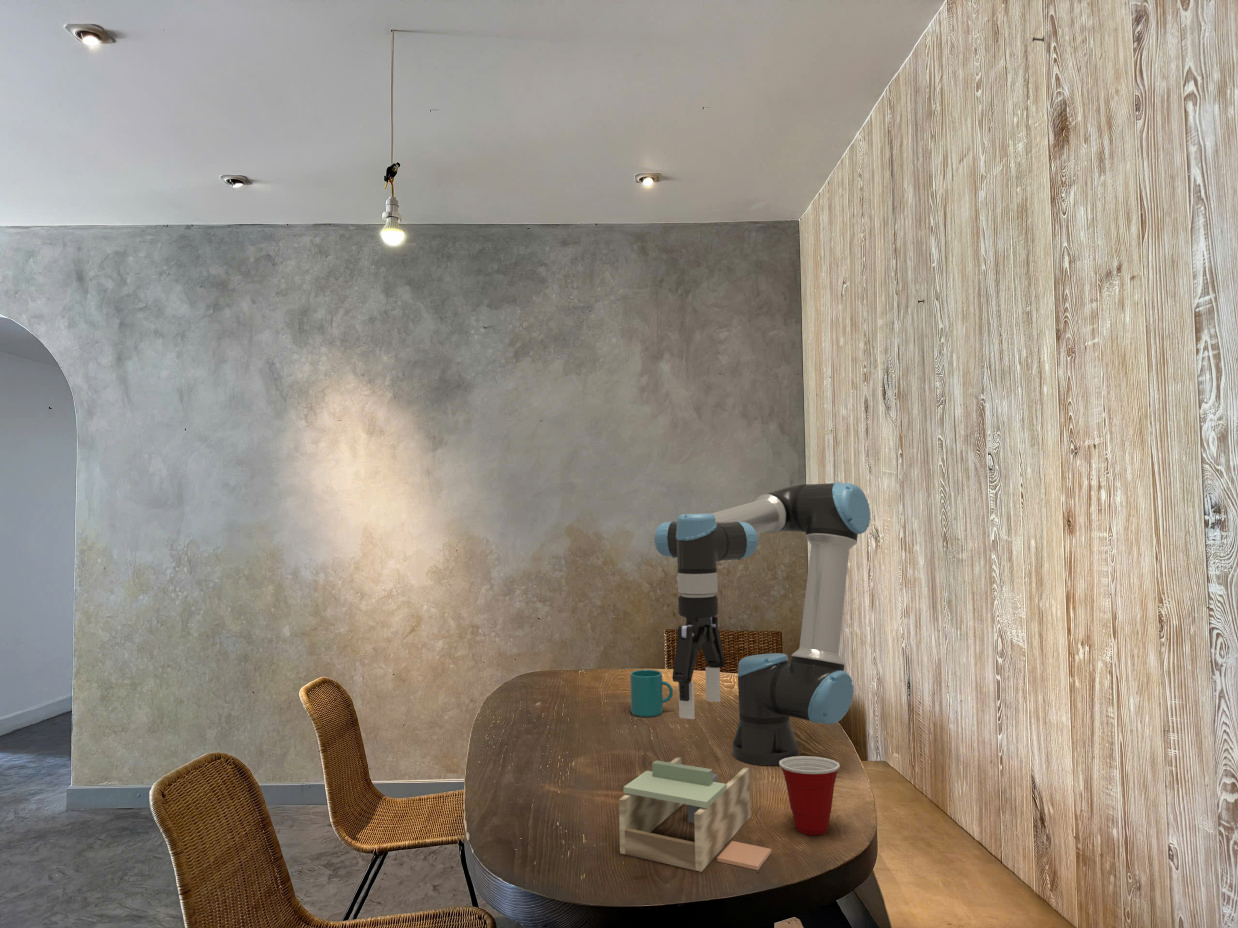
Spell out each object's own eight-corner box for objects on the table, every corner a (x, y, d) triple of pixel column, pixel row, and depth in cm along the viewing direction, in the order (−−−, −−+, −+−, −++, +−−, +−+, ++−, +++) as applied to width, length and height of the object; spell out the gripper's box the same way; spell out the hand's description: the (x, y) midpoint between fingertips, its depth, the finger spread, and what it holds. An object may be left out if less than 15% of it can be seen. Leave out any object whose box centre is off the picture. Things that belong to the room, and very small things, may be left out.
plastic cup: (834, 815, 145) (832, 751, 145) (849, 841, 134) (846, 771, 134) (776, 815, 145) (774, 751, 146) (786, 841, 134) (784, 771, 135)
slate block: (697, 813, 147) (696, 770, 148) (719, 817, 145) (718, 774, 145) (687, 821, 143) (686, 778, 144) (710, 826, 141) (709, 782, 141)
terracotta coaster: (732, 844, 133) (732, 840, 134) (771, 852, 130) (771, 848, 130) (717, 861, 127) (717, 857, 127) (757, 870, 124) (757, 866, 124)
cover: (646, 775, 142) (646, 757, 142) (726, 789, 134) (726, 769, 134) (623, 792, 134) (623, 772, 134) (706, 808, 126) (706, 787, 126)
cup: (674, 717, 213) (673, 676, 213) (631, 717, 213) (630, 677, 213) (672, 708, 222) (671, 669, 222) (631, 709, 222) (630, 669, 222)
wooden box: (678, 803, 152) (677, 756, 153) (750, 816, 145) (749, 768, 145) (619, 852, 131) (618, 799, 132) (701, 871, 124) (699, 814, 124)
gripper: (704, 587, 159) (706, 692, 158) (651, 601, 137) (654, 723, 136) (738, 588, 155) (741, 696, 154) (690, 603, 134) (693, 728, 133)
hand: (700, 709), depth 145 cm, fingers open, 12 cm apart
